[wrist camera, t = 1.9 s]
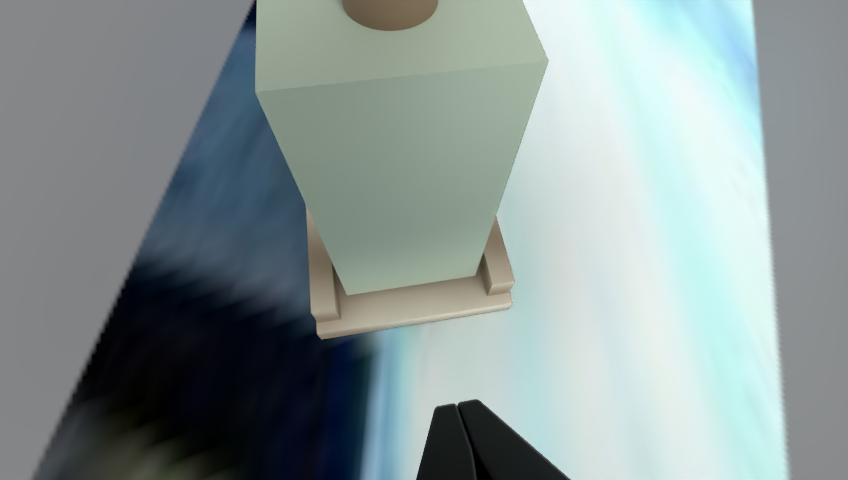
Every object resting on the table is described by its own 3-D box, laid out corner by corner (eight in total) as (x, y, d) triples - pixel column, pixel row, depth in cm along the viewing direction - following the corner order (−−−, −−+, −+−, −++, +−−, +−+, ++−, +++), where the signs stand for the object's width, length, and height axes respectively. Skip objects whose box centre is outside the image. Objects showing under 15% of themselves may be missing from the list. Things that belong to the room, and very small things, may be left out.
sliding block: (475, 275, 19) (608, -116, 6) (347, 295, 19) (174, -86, 5) (453, 188, 21) (515, -241, 8) (338, 203, 21) (202, -229, 8)
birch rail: (508, 309, 20) (520, 291, 18) (321, 339, 19) (309, 325, 17) (442, 66, 27) (445, 32, 25) (306, 81, 27) (297, 47, 24)
